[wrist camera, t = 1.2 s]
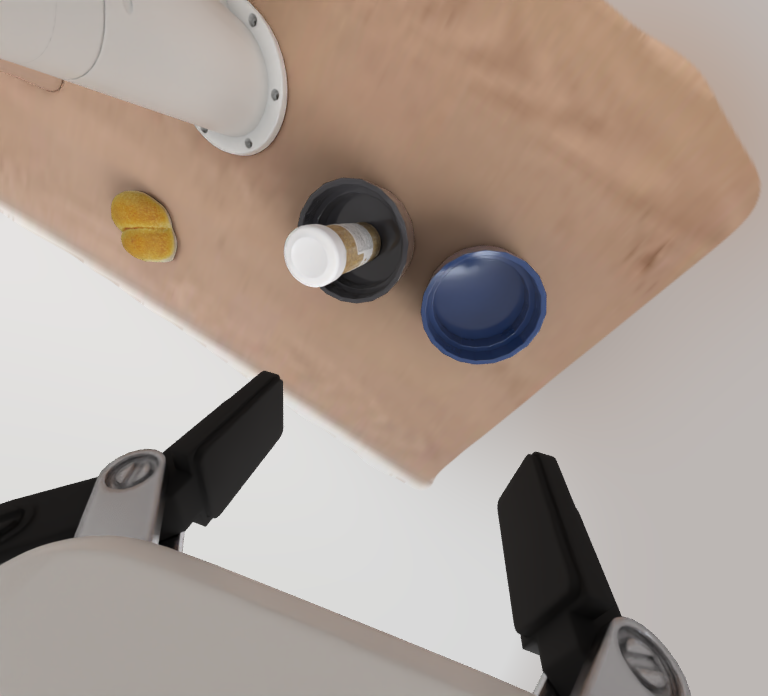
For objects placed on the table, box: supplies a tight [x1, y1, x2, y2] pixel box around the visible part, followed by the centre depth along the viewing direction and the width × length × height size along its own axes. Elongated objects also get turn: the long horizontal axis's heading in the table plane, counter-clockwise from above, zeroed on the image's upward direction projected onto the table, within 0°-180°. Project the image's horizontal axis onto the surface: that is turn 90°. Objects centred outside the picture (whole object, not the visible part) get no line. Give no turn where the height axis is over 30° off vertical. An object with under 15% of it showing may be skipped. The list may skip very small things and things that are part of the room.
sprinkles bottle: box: [284, 222, 381, 287], centre depth 26 cm, size 5×5×14 cm
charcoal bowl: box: [298, 178, 415, 303], centre depth 30 cm, size 12×12×5 cm
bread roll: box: [111, 191, 177, 262], centre depth 37 cm, size 8×9×4 cm
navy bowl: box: [421, 245, 546, 364], centre depth 30 cm, size 12×12×5 cm
